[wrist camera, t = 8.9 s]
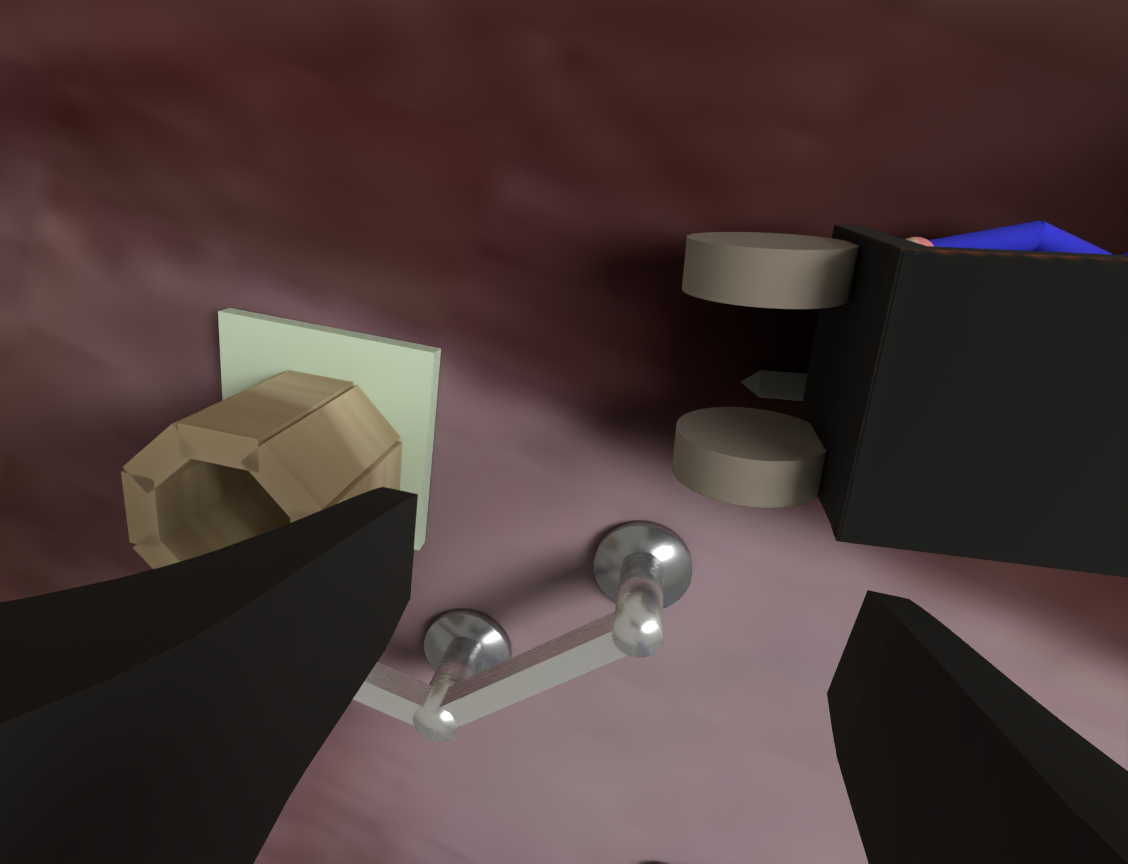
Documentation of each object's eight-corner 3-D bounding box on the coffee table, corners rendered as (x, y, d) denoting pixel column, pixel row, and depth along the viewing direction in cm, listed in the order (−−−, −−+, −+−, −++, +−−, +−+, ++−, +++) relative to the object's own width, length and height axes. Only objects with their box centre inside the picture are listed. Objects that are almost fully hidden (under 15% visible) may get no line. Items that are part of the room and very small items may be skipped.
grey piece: (650, 723, 24) (647, 816, 20) (265, 631, 25) (198, 703, 21) (701, 532, 21) (708, 602, 17) (259, 439, 22) (181, 486, 18)
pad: (424, 541, 22) (418, 550, 22) (238, 500, 23) (227, 508, 22) (441, 348, 20) (434, 353, 19) (230, 308, 20) (217, 311, 20)
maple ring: (397, 543, 22) (323, 638, 17) (246, 511, 22) (136, 594, 18) (405, 391, 20) (324, 452, 15) (240, 360, 20) (112, 409, 16)
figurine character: (684, 426, 21) (1241, 482, 17) (652, 539, 14) (1561, 669, 11) (702, 211, 19) (1352, 222, 15) (674, 221, 12) (1854, 248, 8)
